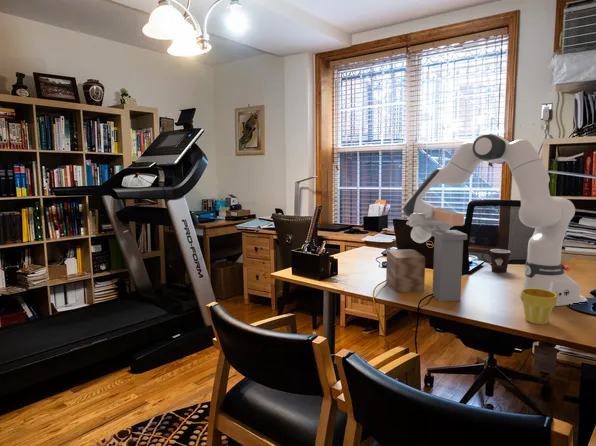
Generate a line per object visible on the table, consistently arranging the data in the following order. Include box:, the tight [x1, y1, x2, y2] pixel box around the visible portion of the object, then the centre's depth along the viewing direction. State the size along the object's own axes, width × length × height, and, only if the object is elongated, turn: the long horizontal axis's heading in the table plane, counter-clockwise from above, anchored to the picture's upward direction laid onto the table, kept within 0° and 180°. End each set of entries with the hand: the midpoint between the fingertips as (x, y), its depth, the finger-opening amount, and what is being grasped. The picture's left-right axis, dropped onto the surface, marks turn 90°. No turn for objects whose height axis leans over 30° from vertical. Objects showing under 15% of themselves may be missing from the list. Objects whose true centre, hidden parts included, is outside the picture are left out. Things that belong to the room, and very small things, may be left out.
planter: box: [431, 207, 465, 227], centre depth 162 cm, size 4×22×4 cm, turn 2°
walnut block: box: [385, 248, 426, 293], centre depth 178 cm, size 12×15×14 cm
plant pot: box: [520, 288, 557, 325], centre depth 139 cm, size 10×10×10 cm
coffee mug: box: [481, 248, 511, 274], centre depth 201 cm, size 12×9×10 cm
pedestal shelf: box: [431, 229, 468, 302], centre depth 162 cm, size 10×10×26 cm
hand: (439, 212), depth 169 cm, fingers closed on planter, 4 cm apart
